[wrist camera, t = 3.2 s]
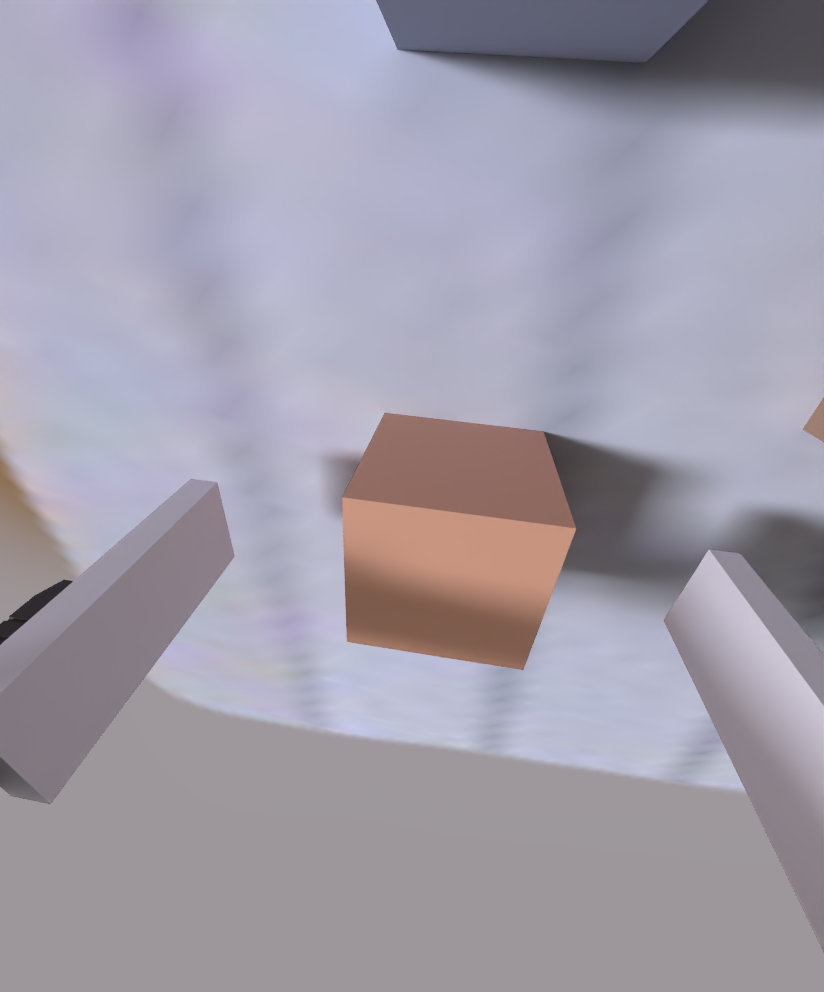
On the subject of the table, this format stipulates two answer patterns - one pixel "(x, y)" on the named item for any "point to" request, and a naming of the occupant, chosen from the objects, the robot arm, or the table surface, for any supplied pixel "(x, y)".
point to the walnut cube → (816, 423)
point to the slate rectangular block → (539, 26)
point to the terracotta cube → (453, 539)
